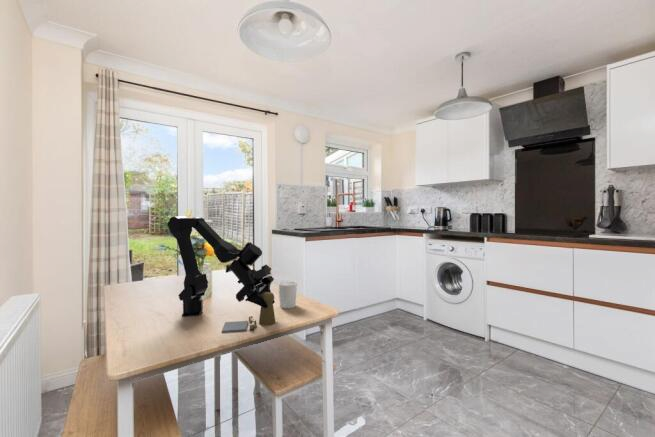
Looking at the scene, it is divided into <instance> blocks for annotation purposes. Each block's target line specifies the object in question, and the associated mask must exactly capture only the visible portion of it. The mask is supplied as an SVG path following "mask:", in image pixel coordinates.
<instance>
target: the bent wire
mask: <svg viewBox="0 0 655 437" xmlns="http://www.w3.org/2000/svg"><path fill="white" fill-rule="evenodd" d="M248 323H250V325H249V331H250V332H252V331H254V330H255V328H256V326H257V320H255V319H254V317H253V316H252V315H250V316H248Z"/></svg>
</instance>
